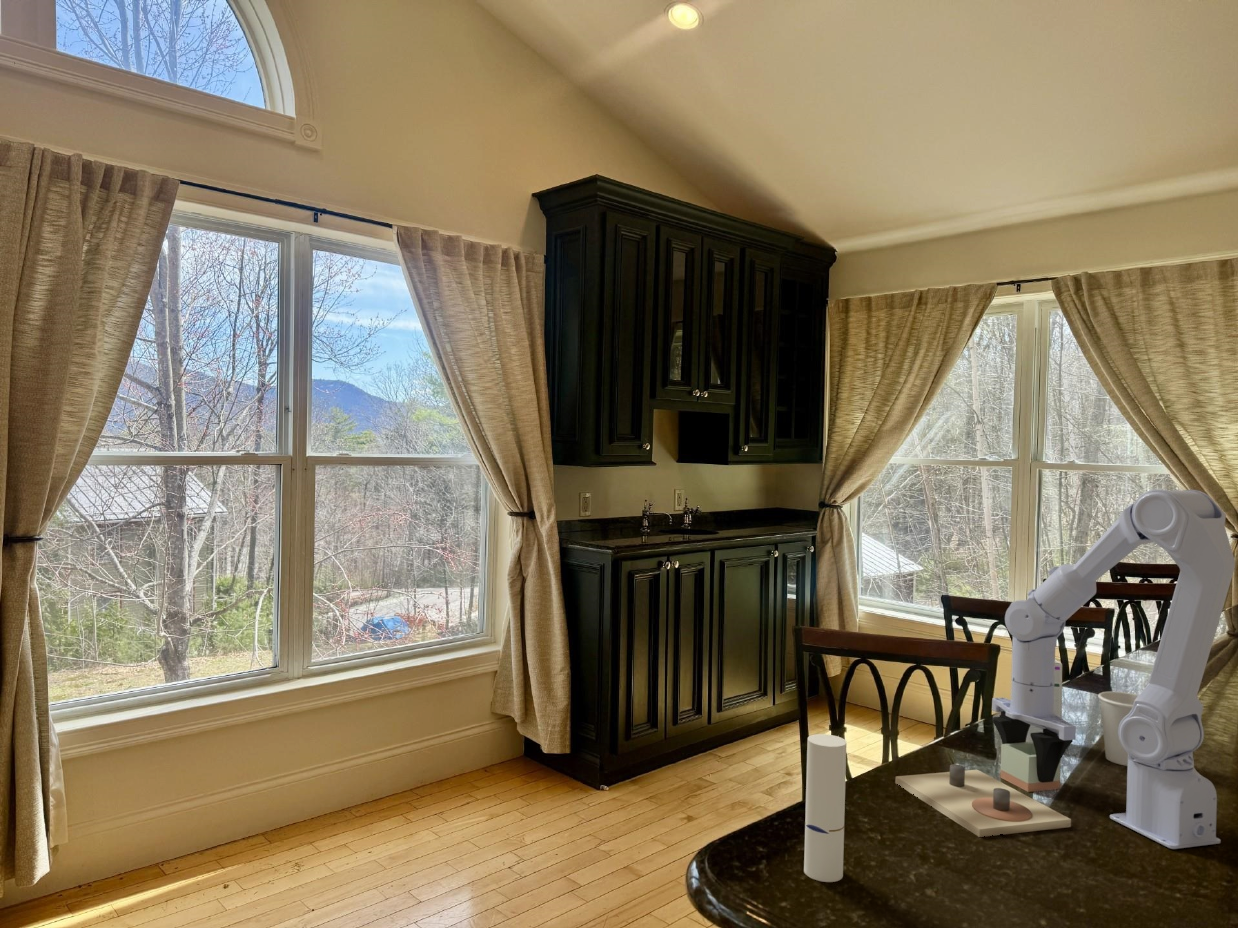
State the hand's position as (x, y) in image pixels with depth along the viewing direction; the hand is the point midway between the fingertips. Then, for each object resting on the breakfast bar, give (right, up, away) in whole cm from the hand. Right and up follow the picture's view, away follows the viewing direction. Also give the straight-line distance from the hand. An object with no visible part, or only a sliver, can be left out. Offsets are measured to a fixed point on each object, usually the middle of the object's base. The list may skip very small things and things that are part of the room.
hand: (1030, 773), depth 125 cm
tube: (-38, -1, -29) cm, 48 cm away
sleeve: (0, -1, 0) cm, 1 cm away
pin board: (-11, -1, -8) cm, 14 cm away
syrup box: (+10, -2, +18) cm, 21 cm away
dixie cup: (+21, -2, +11) cm, 24 cm away
